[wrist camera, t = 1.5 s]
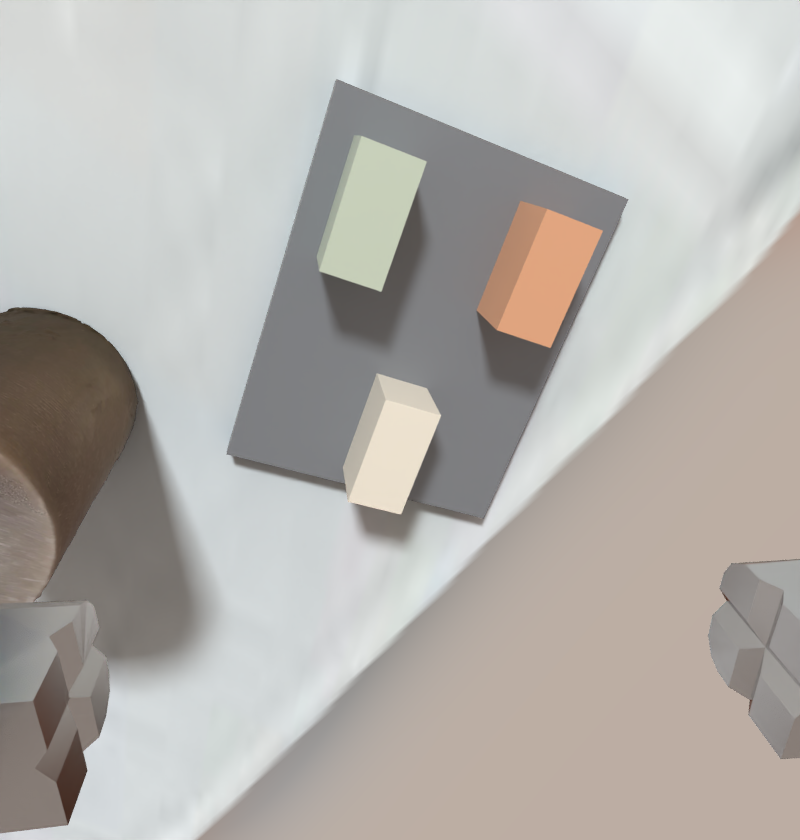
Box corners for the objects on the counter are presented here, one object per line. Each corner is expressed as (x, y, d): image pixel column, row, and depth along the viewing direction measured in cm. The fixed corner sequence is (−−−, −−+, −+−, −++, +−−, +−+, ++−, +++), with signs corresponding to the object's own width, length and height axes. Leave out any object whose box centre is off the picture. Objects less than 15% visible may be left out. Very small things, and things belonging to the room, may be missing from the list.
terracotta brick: (525, 326, 37) (550, 347, 34) (476, 310, 36) (496, 330, 33) (571, 220, 35) (603, 230, 32) (520, 200, 34) (547, 208, 31)
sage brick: (372, 275, 35) (381, 291, 31) (316, 256, 34) (319, 271, 30) (412, 158, 33) (426, 161, 29) (354, 135, 32) (361, 135, 28)
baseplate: (478, 508, 43) (483, 518, 42) (228, 445, 39) (226, 454, 38) (618, 197, 36) (628, 199, 35) (335, 80, 32) (337, 79, 31)
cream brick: (391, 479, 40) (401, 514, 36) (342, 467, 39) (347, 501, 35) (426, 388, 38) (441, 415, 34) (376, 373, 37) (385, 399, 33)
